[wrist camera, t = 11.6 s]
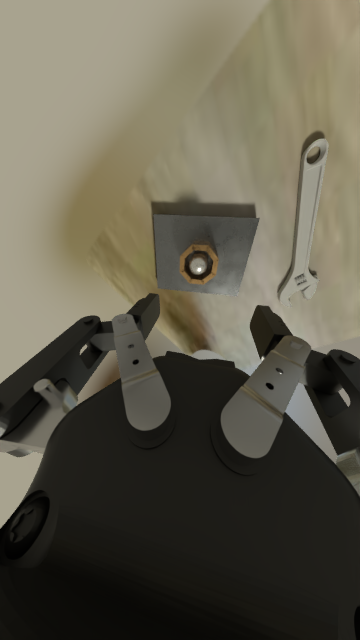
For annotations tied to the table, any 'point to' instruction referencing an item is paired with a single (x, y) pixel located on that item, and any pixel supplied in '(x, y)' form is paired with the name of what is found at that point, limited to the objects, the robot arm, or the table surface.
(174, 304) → the table surface
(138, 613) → the robot arm
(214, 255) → the wooden octagonal ring
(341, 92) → the table surface
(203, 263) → the block
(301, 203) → the adjustable wrench
